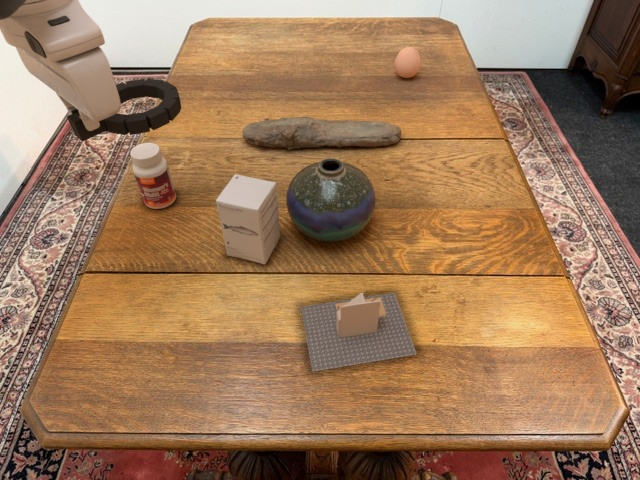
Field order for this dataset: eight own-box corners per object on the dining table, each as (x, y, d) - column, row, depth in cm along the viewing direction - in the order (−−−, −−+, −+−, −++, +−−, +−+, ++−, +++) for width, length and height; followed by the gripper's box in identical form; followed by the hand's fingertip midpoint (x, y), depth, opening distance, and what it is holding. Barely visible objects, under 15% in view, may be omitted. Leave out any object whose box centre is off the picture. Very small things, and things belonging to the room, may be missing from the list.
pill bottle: (148, 214, 88) (130, 164, 80) (141, 195, 92) (123, 146, 84) (180, 203, 90) (166, 154, 82) (172, 185, 94) (157, 137, 86)
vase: (271, 221, 86) (264, 162, 77) (334, 187, 93) (335, 128, 84) (325, 269, 78) (325, 209, 69) (390, 228, 85) (398, 168, 75)
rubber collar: (100, 156, 62) (91, 136, 59) (59, 122, 68) (50, 103, 65) (197, 109, 69) (192, 91, 67) (153, 83, 75) (147, 64, 73)
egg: (392, 71, 128) (395, 41, 123) (417, 71, 128) (421, 42, 122) (394, 82, 124) (397, 52, 118) (419, 82, 123) (424, 53, 118)
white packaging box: (225, 256, 80) (213, 200, 72) (244, 228, 85) (234, 171, 76) (265, 266, 79) (257, 210, 70) (282, 237, 84) (276, 180, 75)
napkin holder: (334, 318, 71) (334, 287, 66) (378, 312, 72) (382, 280, 67) (338, 338, 69) (339, 307, 63) (384, 330, 70) (389, 299, 64)
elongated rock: (402, 157, 102) (396, 134, 110) (406, 136, 99) (400, 113, 106) (240, 151, 101) (245, 128, 109) (238, 129, 98) (244, 107, 105)
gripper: (-22, 3, 58) (31, 105, 68) (52, 52, 48) (100, 163, 58) (30, -11, 61) (72, 88, 71) (109, 33, 51) (145, 141, 61)
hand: (86, 122), depth 64 cm, fingers closed on rubber collar, 2 cm apart
